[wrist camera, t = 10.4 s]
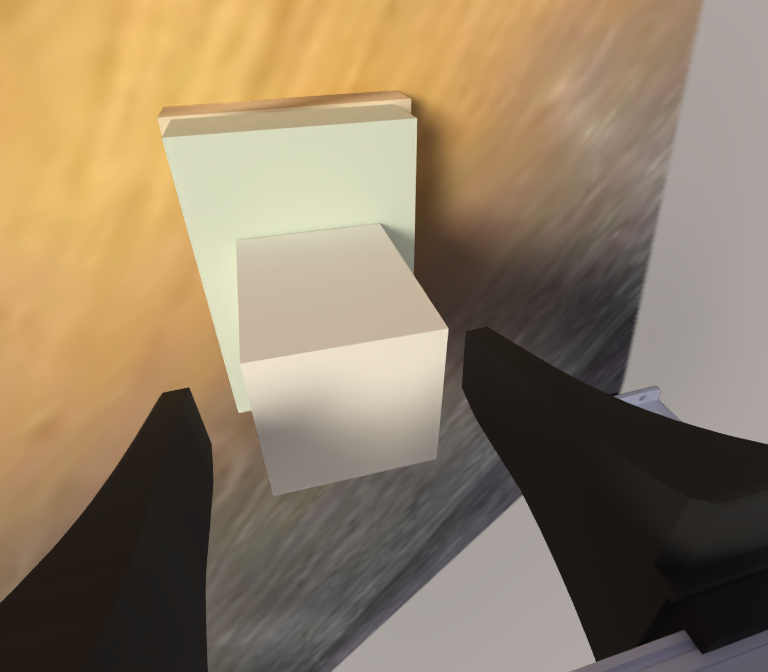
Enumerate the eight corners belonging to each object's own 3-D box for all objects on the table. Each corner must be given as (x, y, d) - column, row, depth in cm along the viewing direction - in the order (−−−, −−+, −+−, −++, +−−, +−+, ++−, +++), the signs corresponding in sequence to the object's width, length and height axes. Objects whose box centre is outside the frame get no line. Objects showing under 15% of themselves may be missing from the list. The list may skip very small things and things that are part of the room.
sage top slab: (392, 104, 16) (417, 118, 14) (394, 344, 21) (411, 379, 19) (171, 119, 14) (161, 138, 12) (237, 372, 20) (238, 413, 18)
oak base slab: (390, 87, 18) (411, 98, 16) (394, 327, 24) (409, 356, 22) (165, 103, 16) (157, 117, 14) (234, 355, 22) (235, 389, 20)
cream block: (379, 223, 15) (448, 328, 10) (381, 335, 18) (436, 458, 13) (235, 240, 14) (240, 363, 9) (260, 356, 17) (273, 496, 12)
